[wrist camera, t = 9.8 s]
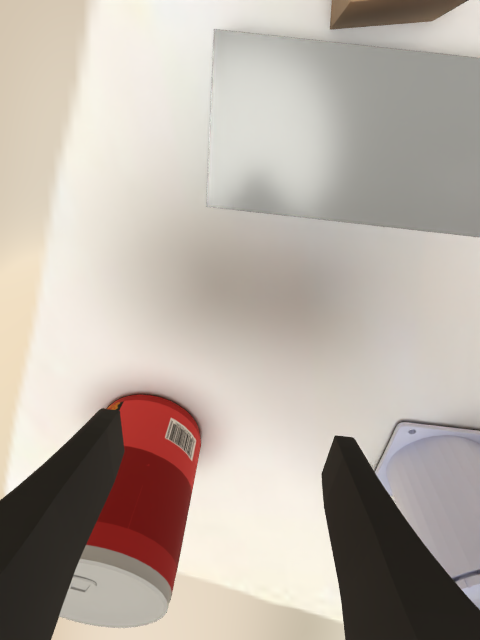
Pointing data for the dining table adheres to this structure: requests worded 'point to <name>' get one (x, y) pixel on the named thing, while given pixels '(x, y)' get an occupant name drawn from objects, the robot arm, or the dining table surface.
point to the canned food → (139, 520)
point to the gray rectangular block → (345, 133)
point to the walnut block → (387, 12)
